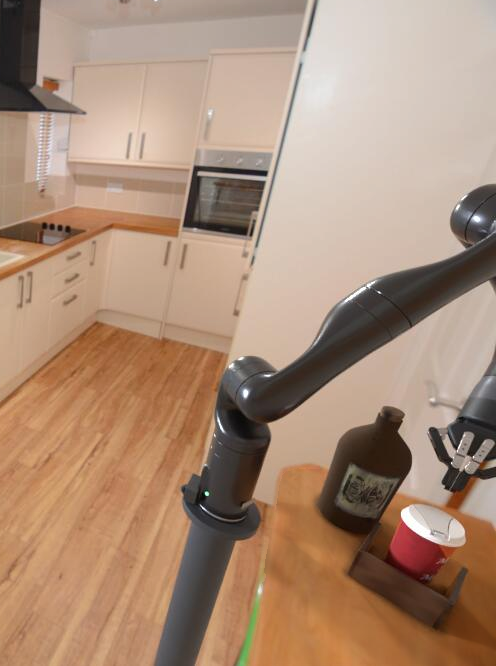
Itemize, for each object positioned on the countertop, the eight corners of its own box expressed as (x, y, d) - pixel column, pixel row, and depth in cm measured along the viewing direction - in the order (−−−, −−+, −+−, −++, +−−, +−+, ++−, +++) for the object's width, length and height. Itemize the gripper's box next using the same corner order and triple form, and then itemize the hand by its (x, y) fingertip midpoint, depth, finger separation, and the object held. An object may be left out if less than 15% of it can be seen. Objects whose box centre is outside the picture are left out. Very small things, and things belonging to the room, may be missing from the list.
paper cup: (436, 609, 73) (476, 549, 67) (376, 585, 77) (408, 526, 71) (426, 571, 79) (462, 513, 73) (370, 551, 83) (400, 493, 77)
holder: (346, 573, 79) (358, 550, 76) (365, 544, 84) (377, 521, 82) (437, 630, 70) (454, 605, 68) (452, 593, 76) (468, 569, 73)
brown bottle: (312, 486, 97) (352, 387, 86) (375, 506, 92) (426, 404, 81) (314, 521, 89) (359, 417, 78) (383, 545, 84) (441, 437, 73)
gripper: (449, 383, 83) (403, 463, 82) (559, 419, 74) (508, 510, 72) (444, 397, 88) (400, 473, 87) (546, 432, 79) (498, 518, 77)
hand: (449, 490), depth 80 cm, fingers closed
